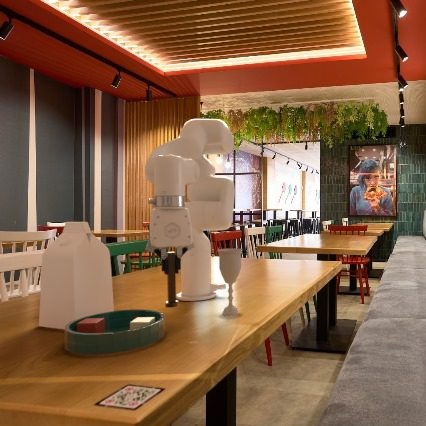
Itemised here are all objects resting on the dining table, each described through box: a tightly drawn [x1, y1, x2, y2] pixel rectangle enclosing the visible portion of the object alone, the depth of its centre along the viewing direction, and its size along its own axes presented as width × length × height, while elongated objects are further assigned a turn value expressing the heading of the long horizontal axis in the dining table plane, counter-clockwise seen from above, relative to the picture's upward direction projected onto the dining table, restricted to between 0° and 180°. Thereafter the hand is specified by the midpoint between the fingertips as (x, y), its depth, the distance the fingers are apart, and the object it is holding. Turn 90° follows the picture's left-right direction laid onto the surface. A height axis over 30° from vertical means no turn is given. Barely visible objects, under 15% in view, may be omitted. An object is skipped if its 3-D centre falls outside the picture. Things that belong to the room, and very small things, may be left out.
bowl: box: [63, 308, 166, 355], centre depth 88 cm, size 20×20×4 cm
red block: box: [77, 318, 105, 333], centre depth 88 cm, size 4×4×4 cm
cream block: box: [130, 317, 155, 330], centre depth 88 cm, size 4×4×4 cm
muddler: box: [164, 251, 179, 309], centre depth 104 cm, size 3×3×14 cm
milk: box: [38, 221, 115, 330], centre depth 101 cm, size 12×12×26 cm
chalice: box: [217, 248, 244, 317], centre depth 108 cm, size 7×7×18 cm
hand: (171, 272), depth 104 cm, fingers closed on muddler
